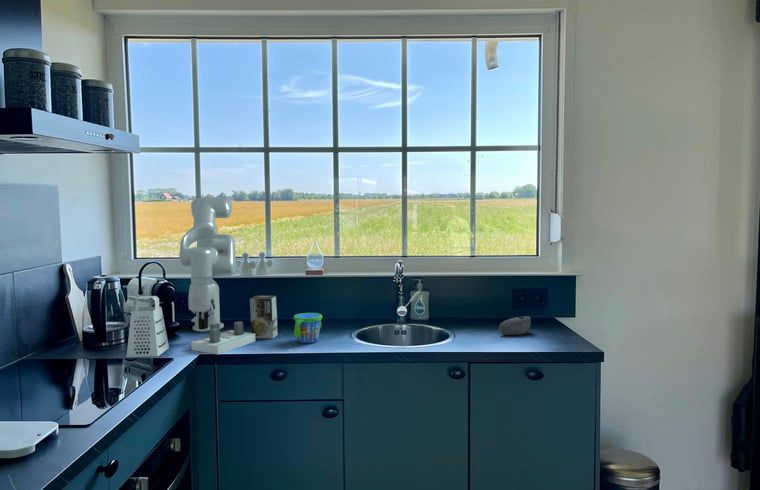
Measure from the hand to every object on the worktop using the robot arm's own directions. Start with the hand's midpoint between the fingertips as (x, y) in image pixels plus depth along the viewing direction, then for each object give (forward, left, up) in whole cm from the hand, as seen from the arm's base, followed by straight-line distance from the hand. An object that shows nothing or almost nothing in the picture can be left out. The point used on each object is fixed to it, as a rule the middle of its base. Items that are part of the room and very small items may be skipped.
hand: (203, 328), depth 183 cm
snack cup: (+36, +19, -6) cm, 41 cm away
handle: (+12, -6, -2) cm, 14 cm away
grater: (-7, -18, -6) cm, 21 cm away
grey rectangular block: (+6, 0, -2) cm, 6 cm away
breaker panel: (+11, 0, -5) cm, 12 cm away
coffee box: (+16, +17, -6) cm, 23 cm away
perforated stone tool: (+104, +64, -6) cm, 122 cm away
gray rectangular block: (+12, +6, -2) cm, 14 cm away
